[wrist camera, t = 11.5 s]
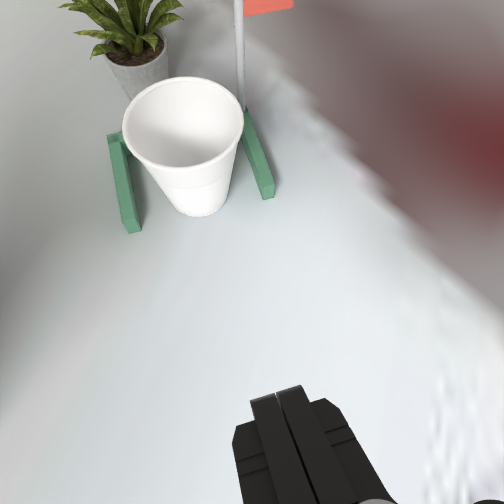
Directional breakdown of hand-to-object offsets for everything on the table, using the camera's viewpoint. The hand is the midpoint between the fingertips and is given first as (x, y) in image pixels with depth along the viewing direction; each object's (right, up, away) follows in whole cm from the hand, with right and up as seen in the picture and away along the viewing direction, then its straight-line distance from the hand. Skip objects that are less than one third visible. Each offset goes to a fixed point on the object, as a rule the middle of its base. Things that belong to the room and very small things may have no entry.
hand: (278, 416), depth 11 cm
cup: (-6, +11, +31) cm, 34 cm away
